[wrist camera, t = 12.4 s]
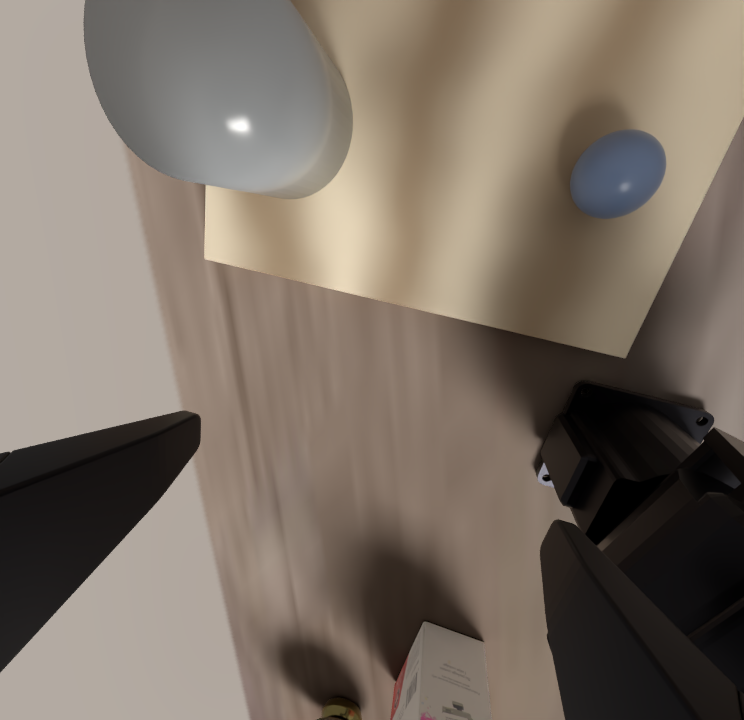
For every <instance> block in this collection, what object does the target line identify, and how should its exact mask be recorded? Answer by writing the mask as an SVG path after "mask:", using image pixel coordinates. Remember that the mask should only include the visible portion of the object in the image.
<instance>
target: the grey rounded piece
mask: <svg viewBox="0 0 744 720" xmlns="http://www.w3.org/2000/svg"><path fill="white" fill-rule="evenodd" d="M84 42H85V50H86V57H87V62H88V67H89V71H90V76H91V79H92V82H93V85H94V88H95V92H96V94H97V96H98V99H99V101H100V104H101V106H102V108H103V110H104V112H105V114H106V116H107V118H108V120H109V121H110V123H111V124H112V126H113V128H114V129H115V131H116V132H117V134H118V135H119V136H120V138H121V139H122V140H123V141H124V143H125V144H126V145H127V146H128V147H129V148H130V149H131V150H132V151H133V152H134V153H135V154H136V155H137V156H138V157H139V158H140V159H142V160H143V161H144V162H145V163H147V164H148V165H149V166H151V167H153V168H154V169H156V170H157V171H159V172H161V173H163V174H166V175H168V176H170V177H173V178H176V179H180V180H184V181H189V182H194V183H200V184H205V185H210V186H216V187H221V188H226V189H232V190H237V191H242V192H248V193H253V194H258V195H264V196H269V197H274V198H280V199H300V198H304V197H307V196H310V195H312V194H314V193H316V192H318V191H320V190H321V189H322V188H324V187H325V186H326V185H327V184H328V183H330V182H331V181H332V179H333V178H334V177H335V176H336V175H337V173H338V172H339V170H340V168H341V167H342V165H343V163H344V161H345V159H346V157H347V154H348V151H349V148H350V143H351V139H352V131H353V112H352V104H351V99H350V95H349V92H348V89H347V86H346V83H345V81H344V79H343V77H342V75H341V73H340V72H339V70H338V69H337V67H336V66H335V64H334V63H333V61H332V60H331V58H330V57H329V55H328V54H327V53H326V51H325V50H324V48H323V47H322V45H321V44H320V42H319V41H318V40H317V38H316V37H315V35H314V34H313V32H312V31H311V29H310V28H309V27H308V25H307V24H306V22H305V21H304V19H303V18H302V17H301V15H300V14H299V12H298V11H297V9H296V8H295V6H294V5H293V4H292V2H291V1H290V0H85V8H84Z"/></svg>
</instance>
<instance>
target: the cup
mask: <svg viewBox="0 0 744 720" xmlns="http://www.w3.org/2000/svg"><path fill="white" fill-rule="evenodd" d="M321 717H322V718H319V719H317V720H362V715H361V712H360V709H359V708H358V707H357V706H356V705H355V704H354V703H353V702H351V701H350V700H347V699H345V698H332V699H330V700H328V701H327V703H326V704H325V706H324V707H323V709H322V714H321Z"/></svg>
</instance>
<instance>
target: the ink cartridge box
mask: <svg viewBox="0 0 744 720" xmlns="http://www.w3.org/2000/svg"><path fill="white" fill-rule="evenodd" d="M391 720H492V717H491V707H490V695H489V686H488V676H487V667H486V654H485V643H484V642H482V641H479V640H476V639H473V638H470V637H468V636H465V635H462V634H459V633H457V632H454V631H451V630H448V629H446V628H443V627H440V626H437V625H435V624H432V623H429V622H423V624H422V626H421V628H420V630H419V632H418V635H417V637H416V639H415V641H414V643H413V645H412V648H411V650H410V652H409V654H408V656H407V659H406V661H405V663H404V665H403V667H402V669H401V672H400V674H399V677H398V679H397V681H396V683H395V687H394V696H393V704H392V712H391Z"/></svg>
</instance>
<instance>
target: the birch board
mask: <svg viewBox="0 0 744 720" xmlns="http://www.w3.org/2000/svg"><path fill="white" fill-rule="evenodd" d="M290 1H291V2H292V4H293V5H294V6H295V8H296V9H297V11H298V12H299V14H300V15H301V17H302V18H303V19H304V21H305V22H306V24H307V25H308V27H309V28H310V29H311V31H312V32H313V34H314V35H315V37H316V38H317V40H318V41H319V42H320V44H321V45H322V47H323V48H324V50H325V51H326V53H327V54H328V55H329V57H330V58H331V60H332V61H333V63H334V64H335V66H336V67H337V69H338V70H339V72H340V73H341V75H342V77H343V79H344V81H345V83H346V86H347V89H348V92H349V95H350V99H351V104H352V112H353V131H352V139H351V143H350V148H349V151H348V154H347V157H346V159H345V161H344V163H343V165H342V167H341V168H340V170H339V172H338V173H337V175H336V176H335V177H334V178H333V179H332V181H331V182H330V183H328V184H327V185H326V186H325V187H324V188H322V189H321V190H320V191H318V192H316V193H314V194H312V195H310V196H307V197H304V198H300V199H280V198H274V197H269V196H264V195H258V194H253V193H248V192H242V191H237V190H232V189H226V188H221V187H216V186H210V185H206V200H205V253H204V259H207V260H211V261H215V262H219V263H224V264H228V265H232V266H236V267H241V268H245V269H249V270H253V271H257V272H262V273H266V274H270V275H274V276H279V277H283V278H287V279H291V280H295V281H300V282H304V283H308V284H312V285H317V286H321V287H325V288H329V289H333V290H338V291H342V292H346V293H350V294H355V295H359V296H363V297H367V298H372V299H376V300H380V301H384V302H388V303H393V304H397V305H401V306H405V307H410V308H414V309H418V310H422V311H426V312H431V313H435V314H439V315H443V316H448V317H452V318H456V319H460V320H464V321H469V322H473V323H477V324H481V325H486V326H490V327H494V328H498V329H503V330H507V331H511V332H515V333H519V334H524V335H528V336H532V337H536V338H541V339H545V340H549V341H553V342H557V343H562V344H566V345H570V346H574V347H579V348H583V349H587V350H591V351H595V352H600V353H604V354H608V355H612V356H617V357H621V358H626V356H627V354H628V352H629V350H630V348H631V346H632V344H633V342H634V340H635V338H636V336H637V334H638V331H639V329H640V327H641V325H642V323H643V321H644V319H645V317H646V315H647V313H648V311H649V309H650V307H651V305H652V303H653V301H654V299H655V297H656V295H657V293H658V291H659V289H660V287H661V285H662V283H663V280H664V278H665V276H666V274H667V272H668V270H669V268H670V266H671V264H672V262H673V260H674V258H675V256H676V254H677V252H678V250H679V248H680V246H681V244H682V242H683V240H684V238H685V236H686V234H687V231H688V229H689V227H690V225H691V223H692V221H693V219H694V217H695V215H696V213H697V211H698V209H699V207H700V205H701V203H702V201H703V199H704V197H705V195H706V193H707V191H708V189H709V187H710V185H711V183H712V180H713V178H714V176H715V174H716V172H717V170H718V168H719V166H720V164H721V162H722V160H723V158H724V156H725V154H726V152H727V150H728V148H729V146H730V144H731V142H732V140H733V138H734V136H735V134H736V131H737V129H738V127H739V125H740V123H741V121H742V119H743V117H744V0H290ZM626 129H635V130H641V131H644V132H647V133H649V134H651V135H652V136H654V137H655V138H656V139H657V140H658V141H659V142H660V143H661V145H662V147H663V148H664V151H665V155H666V171H665V175H664V178H663V181H662V183H661V185H660V187H659V188H658V190H657V191H656V193H655V194H654V195H653V196H652V197H651V199H650V200H649V201H647V202H646V203H645V204H644V205H643V206H642V207H640V208H638V209H637V210H635V211H633V212H631V213H630V214H627V215H625V216H621V217H617V218H612V219H601V218H595V217H591V216H589V215H587V214H585V213H584V212H582V211H581V210H580V209H579V208H578V207H577V206H576V204H575V203H574V201H573V199H572V196H571V192H570V179H571V175H572V171H573V169H574V166H575V164H576V162H577V161H578V159H579V158H580V156H581V155H582V153H583V152H584V151H585V150H586V149H587V148H588V147H589V146H590V145H591V144H593V143H594V142H595V141H597V140H598V139H600V138H601V137H603V136H605V135H607V134H610V133H612V132H615V131H619V130H626Z"/></svg>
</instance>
